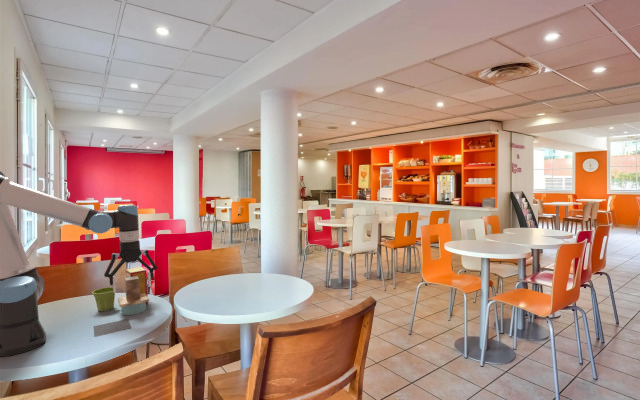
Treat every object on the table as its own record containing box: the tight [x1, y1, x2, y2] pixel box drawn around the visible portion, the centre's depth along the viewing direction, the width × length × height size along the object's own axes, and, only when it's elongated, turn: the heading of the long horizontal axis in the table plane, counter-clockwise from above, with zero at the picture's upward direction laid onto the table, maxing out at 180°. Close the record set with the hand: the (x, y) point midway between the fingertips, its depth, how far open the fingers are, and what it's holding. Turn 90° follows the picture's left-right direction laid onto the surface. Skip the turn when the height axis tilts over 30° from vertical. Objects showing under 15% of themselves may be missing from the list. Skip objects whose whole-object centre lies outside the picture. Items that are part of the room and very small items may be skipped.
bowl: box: [120, 302, 147, 316], centre depth 154 cm, size 9×9×5 cm
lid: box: [117, 276, 150, 308], centre depth 154 cm, size 11×11×10 cm
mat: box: [93, 318, 132, 338], centre depth 137 cm, size 12×12×1 cm
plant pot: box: [91, 286, 117, 312], centre depth 159 cm, size 9×9×9 cm
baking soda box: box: [125, 266, 149, 304], centre depth 167 cm, size 10×6×16 cm
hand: (132, 289), depth 154 cm, fingers open, 13 cm apart
